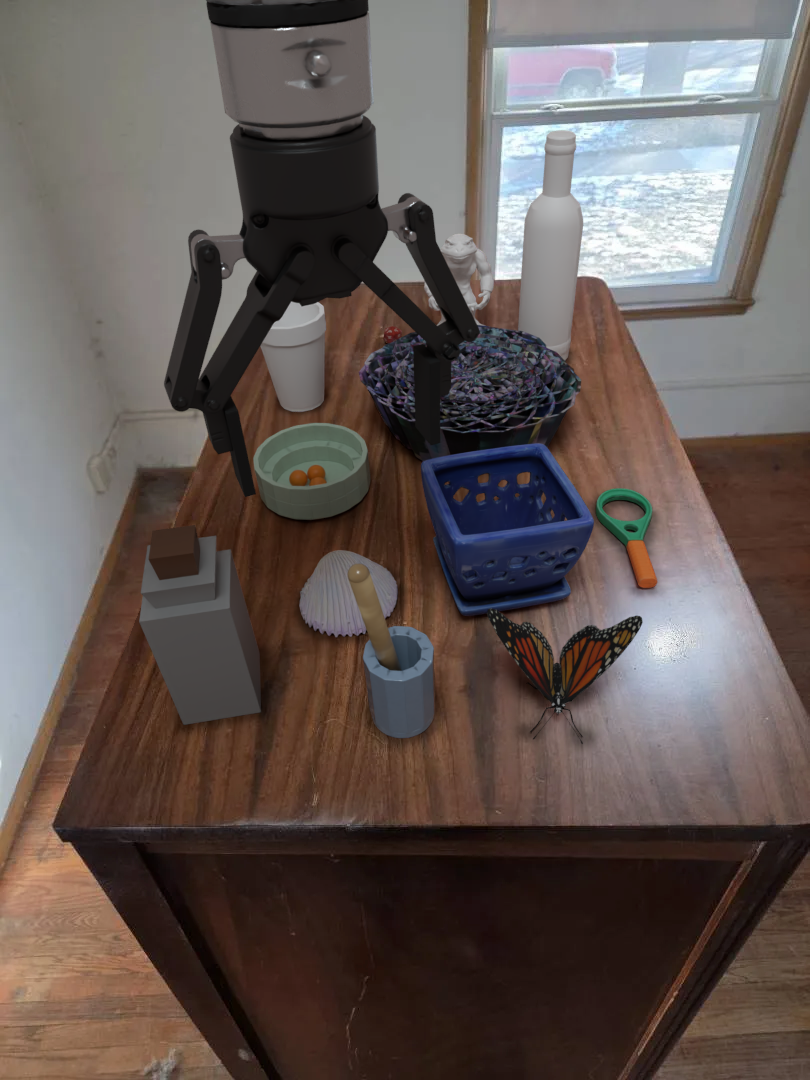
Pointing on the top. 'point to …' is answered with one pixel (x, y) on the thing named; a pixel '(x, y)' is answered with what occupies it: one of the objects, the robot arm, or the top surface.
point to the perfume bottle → (199, 626)
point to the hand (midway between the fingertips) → (339, 459)
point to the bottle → (552, 250)
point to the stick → (373, 616)
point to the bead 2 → (315, 472)
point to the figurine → (465, 272)
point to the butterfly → (564, 656)
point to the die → (392, 334)
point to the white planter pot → (297, 356)
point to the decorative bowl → (477, 393)
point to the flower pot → (505, 527)
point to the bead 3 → (317, 481)
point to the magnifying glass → (630, 540)
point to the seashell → (342, 594)
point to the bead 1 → (298, 478)
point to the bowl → (300, 451)
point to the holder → (402, 685)
